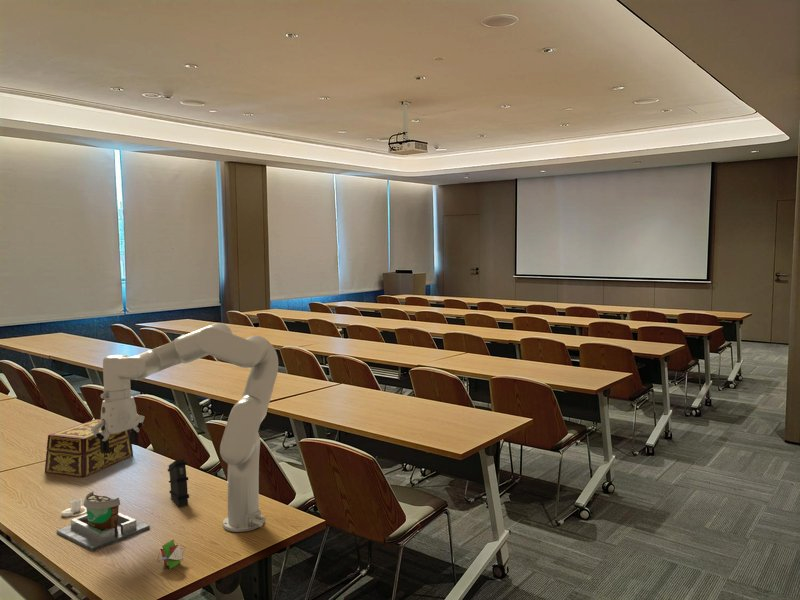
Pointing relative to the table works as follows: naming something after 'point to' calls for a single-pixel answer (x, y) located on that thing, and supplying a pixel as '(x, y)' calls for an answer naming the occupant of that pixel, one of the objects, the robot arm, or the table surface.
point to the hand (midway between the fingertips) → (119, 448)
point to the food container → (102, 511)
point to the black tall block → (178, 482)
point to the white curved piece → (74, 508)
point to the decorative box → (84, 451)
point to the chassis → (101, 532)
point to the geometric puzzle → (171, 554)
